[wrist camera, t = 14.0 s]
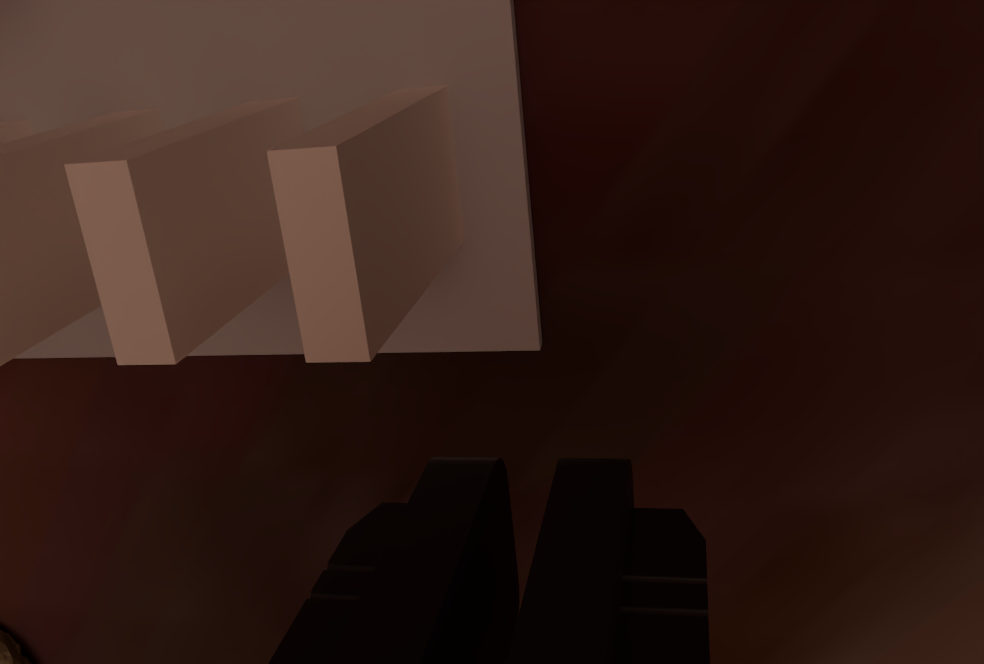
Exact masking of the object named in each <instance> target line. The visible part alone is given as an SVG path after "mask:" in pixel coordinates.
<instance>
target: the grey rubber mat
mask: <svg viewBox="0 0 984 664" xmlns="http://www.w3.org/2000/svg"><path fill="white" fill-rule="evenodd" d="M435 86H447V87H448V95H449V104H450V113H451V122H452V131H453V140H454V149H455V158H456V166H457V175H458V184H459V193H460V202H461V211H462V220H463V229H464V238H465V241H464V242H463V243H462V244H461V246H460V247H459V248H458V250H457V251H456V252H455V253H454V255H453V256H452V257H451V259H450V260H449V261H448V262H447V264H446V265H445V266H444V268H443V269H442V270H441V271H440V273H439V274H438V275H437V277H436V278H435V279H434V280H433V282H432V283H431V284H430V286H429V287H428V288H427V289H426V291H425V292H424V293H423V295H422V296H421V297H420V298H419V300H418V301H417V302H416V304H415V305H414V306H413V307H412V309H411V310H410V311H409V313H408V314H407V315H406V316H405V318H404V319H403V320H402V322H401V323H400V324H399V325H398V327H397V328H396V329H395V331H394V332H393V333H392V334H391V336H390V337H389V338H388V340H387V341H386V342H385V343H384V345H383V346H382V347H381V349H380V350H379V351H378V352H377V353H401V352H466V351H532V350H540V349H541V346H542V332H541V321H540V309H539V297H538V285H537V273H536V261H535V250H534V238H533V226H532V214H531V202H530V190H529V178H528V167H527V155H526V143H525V131H524V119H523V107H522V96H521V84H520V72H519V60H518V48H517V36H516V24H515V13H514V1H513V0H0V121H10V120H22V119H30V123H31V126H32V130H33V134H38V133H42V132H45V131H49V130H53V129H56V128H60V127H64V126H67V125H71V124H75V123H78V122H82V121H85V120H89V119H93V118H96V117H100V116H104V115H107V114H111V113H115V112H122V111H135V110H147V109H159V111H160V115H161V120H162V124H163V129H164V131H165V130H168V129H171V128H174V127H177V126H180V125H183V124H186V123H189V122H192V121H195V120H198V119H201V118H204V117H207V116H209V115H212V114H215V113H218V112H221V111H224V110H227V109H230V108H233V107H236V106H239V105H242V104H245V103H248V102H251V101H260V100H272V99H285V98H297V97H298V101H299V106H300V112H301V118H302V124H303V130H304V133H306V132H308V131H310V130H312V129H314V128H317V127H319V126H321V125H323V124H325V123H327V122H329V121H332V120H334V119H336V118H338V117H340V116H342V115H344V114H347V113H349V112H351V111H353V110H355V109H357V108H360V107H362V106H364V105H366V104H368V103H370V102H372V101H375V100H377V99H379V98H381V97H383V96H385V95H387V94H390V93H392V92H394V91H396V90H398V89H410V88H422V87H435ZM270 354H304V349H303V344H302V338H301V333H300V328H299V322H298V317H297V312H296V306H295V301H294V296H293V290H292V285H291V279H290V274H288V275H287V276H285V277H284V278H283V279H282V280H280V281H279V282H278V283H277V284H275V285H274V286H273V287H272V288H270V289H269V290H268V291H267V292H266V293H264V294H263V295H262V296H261V297H259V298H258V299H257V300H256V301H254V302H253V303H252V304H251V305H249V306H248V307H247V308H246V309H244V310H243V311H242V312H241V313H239V314H238V315H237V316H236V317H234V318H233V319H232V320H231V321H229V322H228V323H227V324H226V325H224V326H223V327H222V328H221V329H219V330H218V331H217V332H216V333H214V334H213V335H212V336H211V337H209V338H208V339H207V340H206V341H204V342H203V343H202V344H201V345H199V346H198V347H197V348H196V349H194V350H193V351H192V352H191V353H189V354H188V355H187V356H205V355H270ZM74 357H115V353H114V350H113V346H112V342H111V338H110V335H109V331H108V327H107V323H106V320H105V316H104V312H103V308H102V305H101V306H100V307H98V308H96V309H95V310H93V311H91V312H90V313H88V314H86V315H85V316H83V317H81V318H80V319H78V320H76V321H75V322H73V323H71V324H70V325H68V326H66V327H65V328H63V329H61V330H60V331H58V332H56V333H55V334H53V335H51V336H50V337H48V338H46V339H45V340H43V341H41V342H40V343H38V344H36V345H35V346H33V347H31V348H30V349H28V350H26V351H25V352H23V353H21V354H20V355H18V356H16V357H15V358H74Z"/></svg>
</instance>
